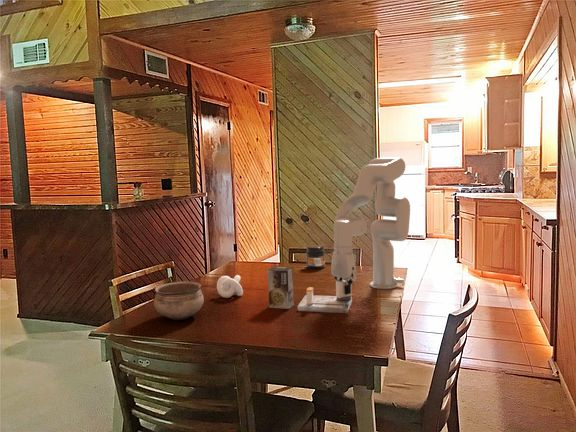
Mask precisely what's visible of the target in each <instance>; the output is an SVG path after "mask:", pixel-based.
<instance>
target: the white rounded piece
mask: <svg viewBox="0 0 576 432" xmlns="http://www.w3.org/2000/svg"><path fill="white" fill-rule="evenodd" d="M241 279H242V278H241V276H240V275H238V274H236V275H234V277H233V278H231V276H229V275H222V276H221V277H219V278H218V280H217V282H216V289H217V292H218V295H220V297H222V298H225V299H228V298H231V297H232V296H233V295H234V294H235V295H236V296H238V297H241V296H243V294H244V290H243V287H242V285H241V284H240V282H241Z"/></svg>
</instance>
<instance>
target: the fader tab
mask: <svg viewBox="0 0 576 432" xmlns="http://www.w3.org/2000/svg"><path fill="white" fill-rule="evenodd" d="M305 290H306V291H305V292H306V295H307V304H312V303H313V301H314V296H313V295H314V287H311V286H309V287H307V288H306V289H305Z"/></svg>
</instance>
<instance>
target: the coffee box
mask: <svg viewBox="0 0 576 432" xmlns="http://www.w3.org/2000/svg"><path fill="white" fill-rule="evenodd" d="M293 274H294V273H293V267H292V266H291V267H289V266H272V267H270V268H269V269H267V282H268V283H267V284H268V285H267V286H268V308H270V309H285V310H289V309H291V308H292V307H293V306H294V304H295V302H294V300H295V299H294V275H293Z"/></svg>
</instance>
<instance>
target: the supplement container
mask: <svg viewBox="0 0 576 432" xmlns="http://www.w3.org/2000/svg"><path fill="white" fill-rule="evenodd" d="M306 250H307V251H306V252H305V253H306V256H305V257H306V268H308V269H310V270H319V269H320V270H321V269H323V268H325V267H326V259H325V258H326V257H325V256H326V255H325V254H326V252H325V246H324V245H320V244H314V245H312V244H311V245H307V246H306Z"/></svg>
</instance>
